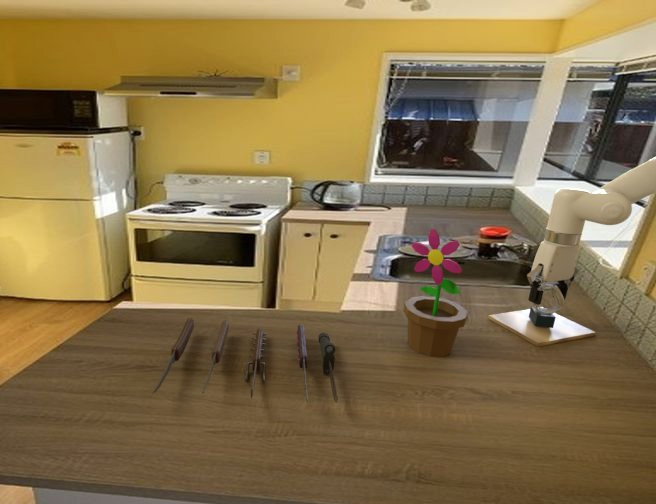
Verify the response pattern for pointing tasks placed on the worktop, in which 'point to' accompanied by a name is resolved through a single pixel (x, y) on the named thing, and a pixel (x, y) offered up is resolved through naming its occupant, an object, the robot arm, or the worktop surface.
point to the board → (541, 328)
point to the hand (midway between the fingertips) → (546, 300)
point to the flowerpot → (435, 303)
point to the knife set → (256, 354)
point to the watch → (544, 315)
